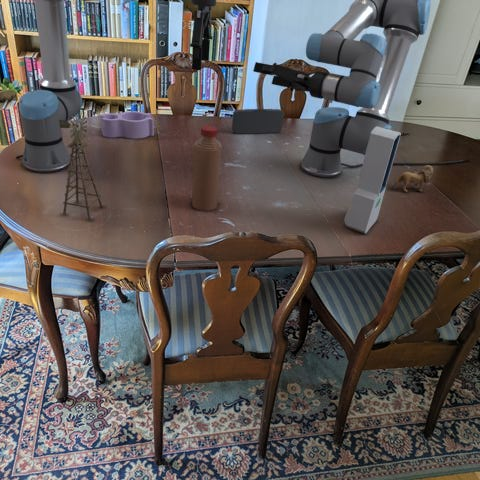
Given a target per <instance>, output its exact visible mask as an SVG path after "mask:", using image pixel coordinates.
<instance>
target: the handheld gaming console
mask: <svg viewBox="0 0 480 480" xmlns="http://www.w3.org/2000/svg"><path fill="white" fill-rule="evenodd" d="M284 118H285V112H284V110H283V109H280V108H244V109H235V110H233V111H232V121H231V131H232V132H233V133H234V134H237V135H238V134H240V135H241V134H271V133H272V134H274V133H281V132H282V131H283V124H284V123H283V122H284Z"/></svg>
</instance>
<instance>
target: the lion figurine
mask: <svg viewBox="0 0 480 480" xmlns="http://www.w3.org/2000/svg"><path fill="white" fill-rule="evenodd" d="M421 168H422V169H420V170H419V172H415V173H413V172H409V171H404V172H402V173H401V174H400V175H399V177H398V178H397V180H396V181H395V182H394V185H393V188H392V190H396V189H397V188H398V184H400V183H403V184H402V189H403V192H405V193H408V189H406V187H407V186H408V185H409V184H410V183H411V184H413V188H414V189H418V192H421V193H422V192H423V190H422V188H423V187H424V184H425V183H427V182H429V181H430V179H431V177H432V175H433V173H434V168H433V166H432V165H423V166H422V167H421ZM418 184H419V186H418Z"/></svg>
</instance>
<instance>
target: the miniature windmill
mask: <svg viewBox="0 0 480 480" xmlns="http://www.w3.org/2000/svg"><path fill="white" fill-rule="evenodd" d="M74 114H75V111H74ZM85 114H86V113H85V112H83V109H81V110H80V109H79V113H78V111H77V115H76V114H75V117H73V115H72V118H73V119H71V120H69V121H68V122H66V121H63V120H60V119H59V124H60V128H61V129H70V130H69V134H70V138H71V143H69V144H68V145H65V147H66V148H71V153H69V155H70V159H71V160H70V165H69V166H68V169H67V173H68V174H67V178H66V180H67V181H66V186H65V188H66V189H65V193H64V196H65V197H64V201H63V202H62V205H63V211H62V215H64V216H65V215H66V214H67V206H68V205H69V206H73V207H79V208H86V214H87V219H88V220H91V219H92V218H91V213H90V208H91V207H92V206H93V205H94V204H95V203H96V202H97V201H98V203H99V207H100V208H103V206H104V205H103V203H102V200H101V194H99V191H98V187H97V184H96V183H95V182H96V180H95V179H94V176H93V173H92V171H91V170H92V169H91V166H90V164H89V161H88V158H87V156H86V155H87V153H86V152H85V150H84V149H85V148H87V147H88V146H89V145H90V143H88V142H83V141H84V138H86V133H87V132H88V130H86V129H87V128H88V125H85V124H87V123H88V120H86V118H87V115H85ZM78 119H79V120H78ZM74 154H75V155H74ZM82 158H83V159H84V162H85V164H82ZM74 161H75V165H73V162H74ZM83 168H86V169H83ZM73 169H75V170H73ZM87 171H88V174H89V177H90V178H87V177H84V174H85V173H86V172H87ZM79 174H80V176H81V177H80V176H79ZM74 176H75V178H74V179H73V180H72V181H71V179H72V177H74ZM79 180H81V184H82V187H79ZM85 181H89V182H90V183H89V184H88V185H87V186H86V182H85ZM73 183H75V184H74V185H72V184H73ZM91 186H93V189H94V192H95V193H88V192H87V190H88V188H90V187H91ZM74 189H75V192H73V194H71V195H70V196H69V193H70V192H71V191H72V190H74ZM79 190H83V191H79ZM79 194H83V195H84V202H85V205H81V204H77V203H79V202H80V200H79V199H80V198H79ZM74 196H75V202H76V203H71V202H68V201H69V200H71V199H72V197H74ZM88 196H92V197H96V198H95V199H94V200H93V201H92V202H91V203H90V204H89V201H88Z"/></svg>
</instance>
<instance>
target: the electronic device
mask: <svg viewBox="0 0 480 480" xmlns="http://www.w3.org/2000/svg"><path fill="white" fill-rule="evenodd" d="M401 133H402V132H399V131H396V130H393V129H391V130H388V129H385V128H381V127H375V128H374V129H373V130H372V132H371V134H370V138H369V142H368V146H367V150H366V153H365V155H364V158H363V162H362V164H363V165H362V166H361V170H360V173H359V177H358V182H357V184H356V190H355V192H354V194H353V196H352V199H351V202H350V204H349V206H348V208H347V211H346V213H345V216H344V219H343V220H344V224H345V227H346V228H347V229H348V228H349V229H351V230H354V231H357V232H360V233H361V234H364V235H366V234H367V233H368V232H369V230H370V229H371V228H372V226H373V225H374V224H375V223H376V222H377V220H378V217H379V214H380V211H381V207H382V203H383V201H384V196H385V192H386V188H387V183H388V181H389V178H390V173H391V171H392V167H393V165H392V163H394V159H395V156H396V153H397V150H398V146H399V142H400V140H401V136H402V135H401Z"/></svg>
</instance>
